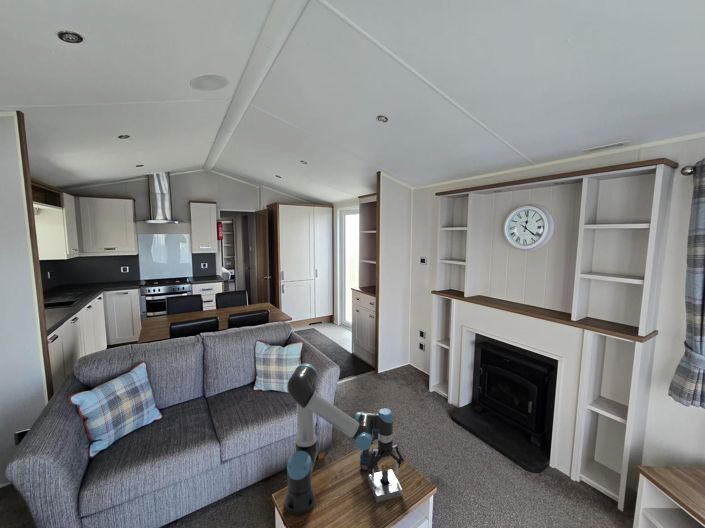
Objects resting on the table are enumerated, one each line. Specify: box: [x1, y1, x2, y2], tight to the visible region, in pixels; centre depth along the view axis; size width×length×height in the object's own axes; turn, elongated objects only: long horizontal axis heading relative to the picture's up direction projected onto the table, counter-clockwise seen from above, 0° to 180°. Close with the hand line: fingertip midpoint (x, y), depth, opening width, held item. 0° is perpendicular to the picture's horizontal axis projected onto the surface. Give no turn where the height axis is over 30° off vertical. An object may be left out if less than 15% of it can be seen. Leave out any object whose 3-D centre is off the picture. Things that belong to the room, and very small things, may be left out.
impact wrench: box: [359, 429, 378, 472], centre depth 179 cm, size 8×22×25 cm, turn 78°
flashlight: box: [381, 464, 389, 486], centre depth 165 cm, size 6×4×12 cm, turn 16°
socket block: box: [367, 469, 403, 503], centre depth 166 cm, size 14×14×4 cm
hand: (384, 476), depth 165 cm, fingers open, 13 cm apart
